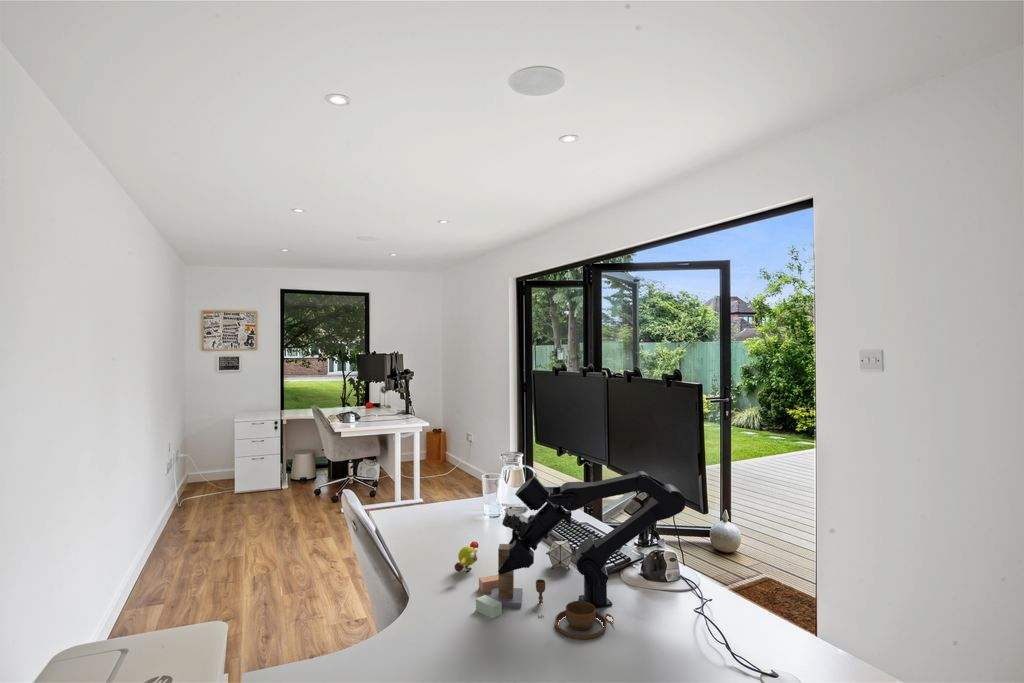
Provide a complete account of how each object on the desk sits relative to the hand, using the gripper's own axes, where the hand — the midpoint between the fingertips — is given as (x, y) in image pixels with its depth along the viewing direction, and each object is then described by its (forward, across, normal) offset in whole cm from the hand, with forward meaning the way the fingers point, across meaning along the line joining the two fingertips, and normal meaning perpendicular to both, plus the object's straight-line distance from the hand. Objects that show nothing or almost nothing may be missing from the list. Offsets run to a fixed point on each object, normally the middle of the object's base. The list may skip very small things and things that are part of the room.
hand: (500, 564), depth 142 cm
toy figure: (+14, -17, -1) cm, 22 cm away
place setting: (-6, +8, +20) cm, 22 cm away
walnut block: (+4, 0, +6) cm, 8 cm away
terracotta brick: (+9, -6, +4) cm, 11 cm away
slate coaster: (+5, 0, +7) cm, 9 cm away
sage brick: (+8, +6, +5) cm, 11 cm away
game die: (-5, -20, +18) cm, 27 cm away
